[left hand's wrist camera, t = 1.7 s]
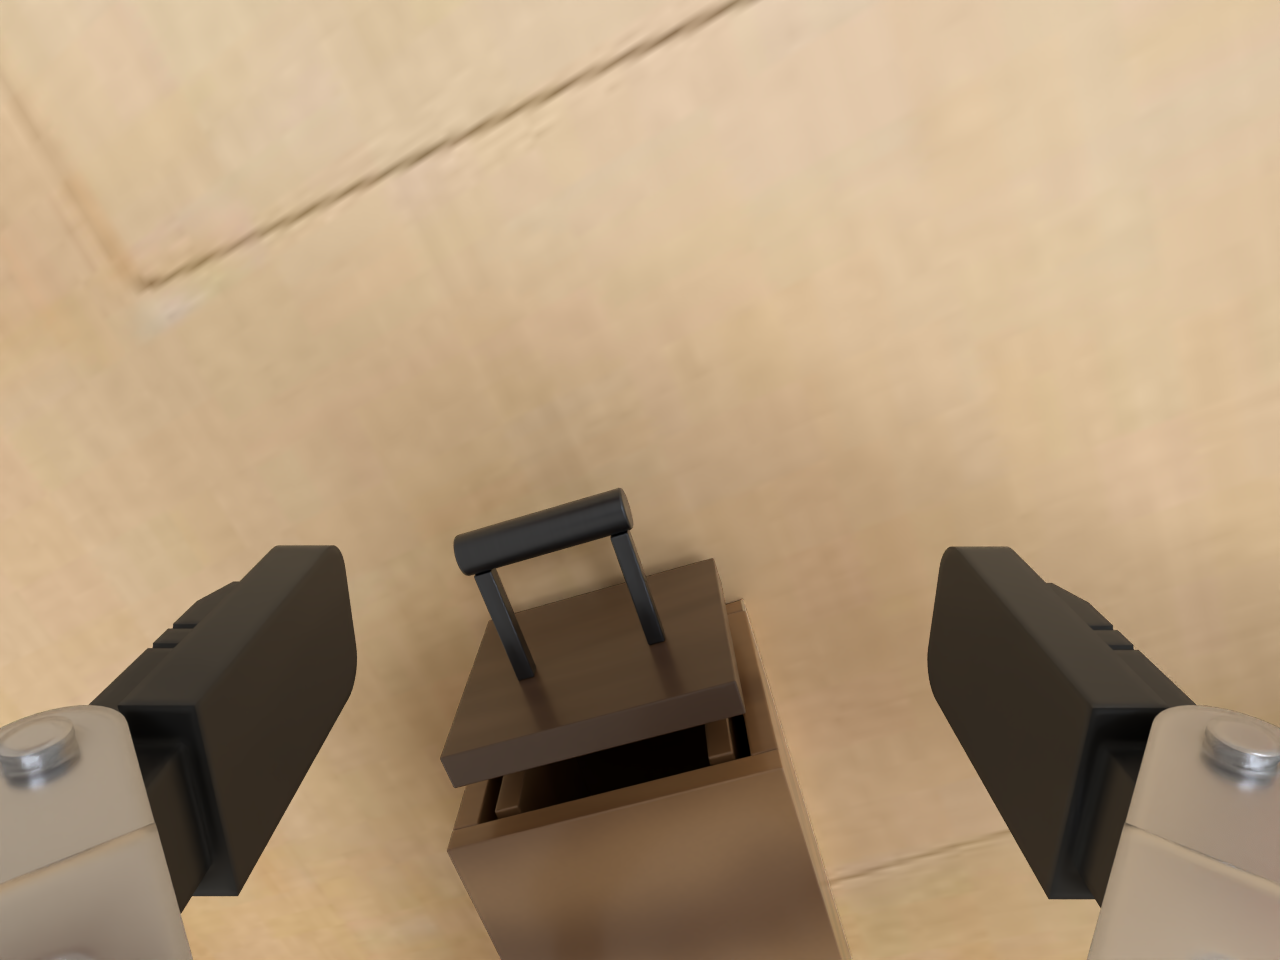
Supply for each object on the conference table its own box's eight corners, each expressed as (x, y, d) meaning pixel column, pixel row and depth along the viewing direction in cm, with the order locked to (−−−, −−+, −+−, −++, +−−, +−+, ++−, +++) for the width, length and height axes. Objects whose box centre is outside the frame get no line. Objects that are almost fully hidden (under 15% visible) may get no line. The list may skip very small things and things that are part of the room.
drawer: (436, 497, 31) (365, 605, 23) (673, 427, 30) (683, 514, 22) (636, 966, 39) (634, 1163, 31) (827, 922, 38) (874, 1115, 30)
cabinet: (500, 664, 34) (445, 850, 25) (743, 598, 33) (783, 767, 24) (647, 1004, 41) (648, 1254, 32) (852, 959, 40) (918, 1204, 30)
